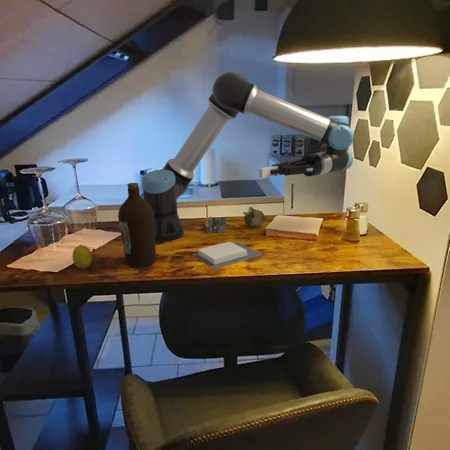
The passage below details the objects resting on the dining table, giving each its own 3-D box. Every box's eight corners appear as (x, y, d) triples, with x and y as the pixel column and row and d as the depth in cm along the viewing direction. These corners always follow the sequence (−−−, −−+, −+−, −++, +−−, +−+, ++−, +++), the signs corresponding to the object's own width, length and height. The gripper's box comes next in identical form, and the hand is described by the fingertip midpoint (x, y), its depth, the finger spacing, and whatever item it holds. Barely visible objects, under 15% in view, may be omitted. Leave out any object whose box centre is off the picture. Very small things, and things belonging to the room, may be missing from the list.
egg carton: (224, 234, 151) (223, 223, 150) (204, 233, 152) (203, 223, 151) (228, 225, 161) (228, 215, 160) (209, 224, 162) (209, 214, 161)
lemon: (94, 271, 122) (90, 246, 120) (74, 274, 120) (70, 249, 118) (93, 264, 127) (89, 240, 124) (74, 267, 125) (70, 243, 123)
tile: (229, 241, 135) (197, 249, 129) (247, 250, 127) (214, 259, 121) (229, 247, 135) (198, 255, 129) (247, 256, 127) (214, 265, 121)
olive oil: (151, 252, 135) (144, 178, 127) (163, 263, 126) (156, 184, 118) (119, 260, 130) (110, 183, 122) (129, 271, 121) (120, 189, 113)
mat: (238, 244, 140) (238, 242, 139) (263, 256, 128) (262, 254, 128) (191, 256, 131) (191, 254, 130) (214, 270, 119) (214, 268, 119)
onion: (263, 230, 153) (263, 209, 150) (242, 229, 155) (241, 209, 152) (265, 224, 160) (265, 204, 157) (245, 223, 162) (245, 203, 159)
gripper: (328, 177, 136) (273, 188, 125) (302, 172, 147) (248, 181, 135) (329, 155, 134) (273, 163, 122) (302, 151, 145) (248, 158, 133)
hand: (260, 172), depth 129 cm, fingers closed
